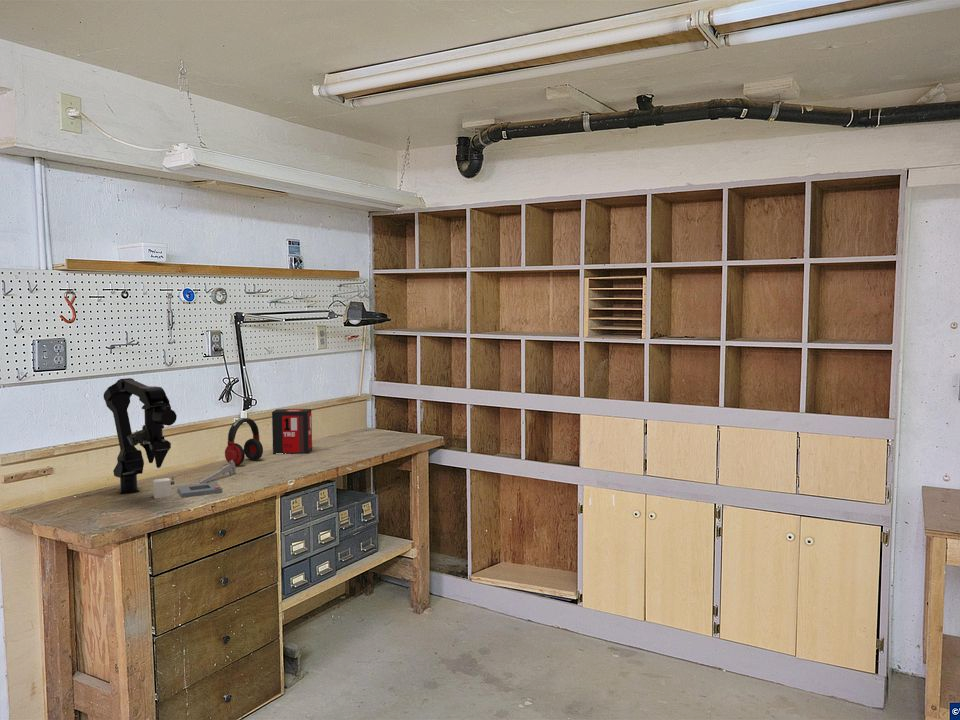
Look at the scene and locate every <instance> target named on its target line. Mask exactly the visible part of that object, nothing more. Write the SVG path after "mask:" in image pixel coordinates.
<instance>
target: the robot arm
mask: <svg viewBox="0 0 960 720" xmlns="http://www.w3.org/2000/svg"><path fill="white" fill-rule="evenodd" d="M133 395H134V396H136V397H138V398H139V399H138V400H139V402H141V403H142V404H143V405H142V406H141V409H142V410H144V424H143V425H142V429H141V430H137V431H136V432H133V433H132V427H131V422H130V418H129V412H128V409H129V406H130V403H131V397H132V396H133ZM103 400H104V401H105V405H106V407H107V408H108V410H110V411H111V413H112V415H113V419H114V425H115V430H116V434H117V440H118V445H119V449H120V450H119V453H118V455H117V457H116V460H117V463H116V465H115V467H114V469H113V470H112V471H113V476H114V477H116V478H119V484H120V487H119V489H118V492H119V494H120V495H121V494H127V493H129V494H131V493H137V492H140V489H139V487H138V475H140V474H141V475H142V474H143V470H144V465H145V461H144V457H143V453H142V451H141V449H138V448H136V446H138V444H139V446H141V447H142V448H143V449H144V451H145V454H146V458H147V460H148V461H147V462H148V463H149V464H153V462H154V460H155V466H156V468H157V469H160V468H161V467H162V465H163V463H164V460H165V458H166V456H167V454H168V453H169V451H170V450H171V448H172V444H171V441H169V440H167V439H165V436H164V435H163V433H164V432H163V429H165V426H169V427H170V426H172V425H173V424H175V423H176V421H177V413H176V411H175V410H174V409H172V406H171V403H170V400H169V398H168V396H167V394H166V392H165V390H164V388H163V387H162V386H152V385H150V386H149V385H147V384H144V383H141V382H139V381H136V380H134V378H131V377H128V378H127V377H126V378H119V379H118V380H117V381H116V382H115V383H113V384H111V385H109V386H108V387H107V388H106V389H105V391H104V392H103Z"/></svg>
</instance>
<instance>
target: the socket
mask: <svg viewBox="0 0 960 720" xmlns="http://www.w3.org/2000/svg"><path fill="white" fill-rule="evenodd" d="M177 492H178V493H179V496H180V497H181V498H183V499H184V498H189V497H199V496H204V495H205V494H207V495H214V493H215V494H223V488H222V487H221V485H220V484H219V483H218V482H217V481H211V482H206V483H203V484H198V483H195V484H187V485H179V486H177ZM198 495H199V496H198Z"/></svg>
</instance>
